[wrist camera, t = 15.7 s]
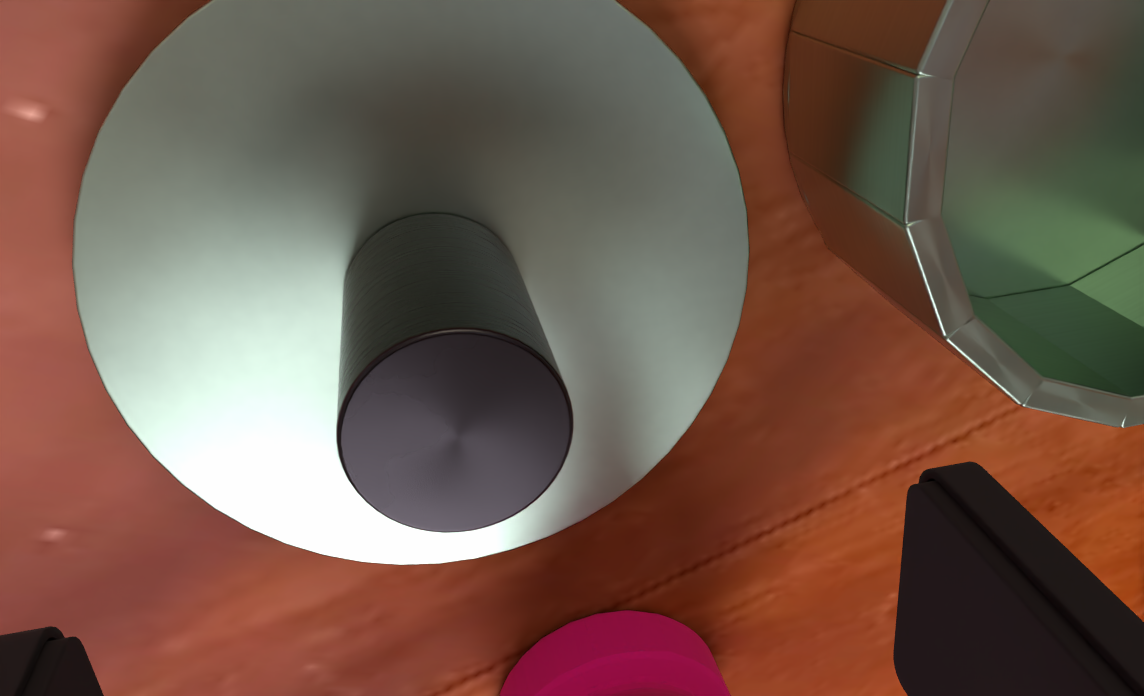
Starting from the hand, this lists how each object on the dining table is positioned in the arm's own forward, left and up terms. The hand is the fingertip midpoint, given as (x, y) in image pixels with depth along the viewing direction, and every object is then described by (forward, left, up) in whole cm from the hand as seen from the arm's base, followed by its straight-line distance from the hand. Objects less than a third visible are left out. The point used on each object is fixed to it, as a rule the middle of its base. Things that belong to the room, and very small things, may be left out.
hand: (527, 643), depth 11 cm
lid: (0, 0, -10) cm, 10 cm away
